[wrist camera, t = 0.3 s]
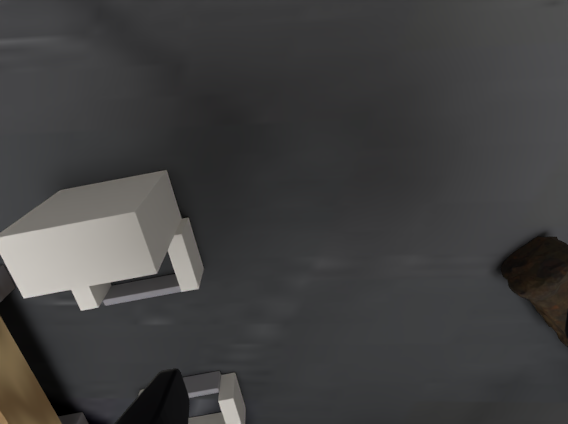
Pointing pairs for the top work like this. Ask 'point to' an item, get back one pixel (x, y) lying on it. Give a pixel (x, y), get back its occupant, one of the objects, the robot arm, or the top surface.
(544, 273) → the brown wooden log
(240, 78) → the top surface
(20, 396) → the rail
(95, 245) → the stepped white cradle
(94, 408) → the top surface
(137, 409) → the robot arm
